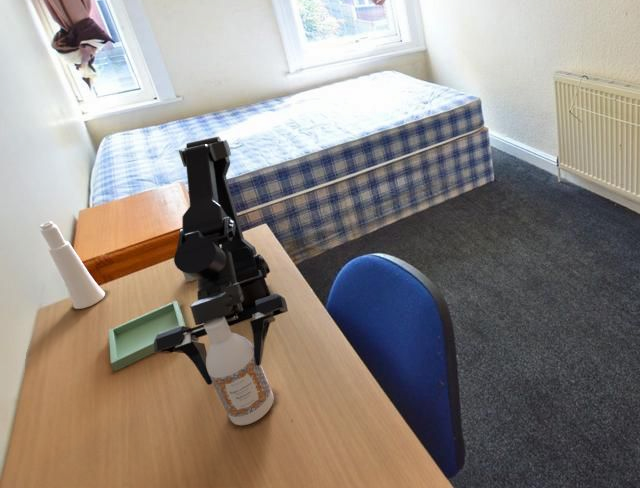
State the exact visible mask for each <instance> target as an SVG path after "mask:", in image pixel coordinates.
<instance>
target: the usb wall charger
mask: <svg viewBox="0 0 640 488" xmlns="http://www.w3.org/2000/svg"><path fill="white" fill-rule="evenodd" d="M182 274H183V276H184V279H185V281H187V282H192V281H197V279H196V278H194V277H192V276H190V275H188V274H186V273H184V272H182Z"/></svg>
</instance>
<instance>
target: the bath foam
mask: <svg viewBox="0 0 640 488" xmlns="http://www.w3.org/2000/svg"><path fill="white" fill-rule="evenodd" d="M203 324H204V328H205V330H206V332H207V334H208V335H207V336H208V339H209V341H210V344H209V347H208V349H207V351H206V352H207V356H206V368H207V371H208V374H209V376H210V378H211V380H212V385H213V386H214V389H215V391H216V393H217V395H218V397H219V400H220V401H221V403H222V405H223V407H224V409H225V411H226V413H227V415H228V417H229V419H230V421H231V423H232V424H234V425H236V426H246V425H250V424H253V423H255V422H257V421H259V420H260V419H261V418H263V417H264V416H265V415H266V414H267V413H268V412H269V411H270V409H271V408H272V406H273V403H274V400H275V399H274V398H275V397H274V393H273V390H272V388H271V385H270V382H269V380H268V378H267V376H266V373H265V371H264V368H263V365H262V364H261V365H259V366H258V365H257V363H256V359H255V352H254V345H253V344H252V342H250V340H249V339H248V338H246V337H245V336H243V335H241V334H239V333H236V332H232V330H231V327H229V326H228V323H227V321H226V319H225V317H224V316H223V317H220V318H218V317H216V318H214V319H211V320H208V321H206V322H205V323H203Z"/></svg>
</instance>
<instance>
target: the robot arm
mask: <svg viewBox="0 0 640 488" xmlns="http://www.w3.org/2000/svg"><path fill="white" fill-rule="evenodd" d="M178 154H179V157H180V159H181V163H182V165H183V168H186V178H187V179H186V180H187V187H188V188H187V190H188V200H189V207H188V208H187V209H186V211H185V212H184V213H183V215H182V217H181V219H182V220H181V221H182V222H181V225H182V227H181V229H180V230H179V234H178V241H177V247H176V251H175V254H174V257H173V263H174V265H175V268H176V269H178V270H179V271H181V273H183V272H184V273H186V274H188V275H190V276H192V277H194V278H196V284H197V285H196V286H197V295H196V296H197V301H195V302H194V303H192V304H191V305H190V310H191V314H192V318H193V322H194V324H195V326H194V327H188V326H186V325H185V326H186V327H185V326H180V327H177V328H174V329H171V330H168V331H165V332H162V333H159V334H157V336H156V338H155V340H154V348H155V352H154V354H165V355H168V354H169V355H170V354H173V353H178V354H185V355H186V356H187V357H188V358H189V359H190V361H191V362H192V363H193V364H194V365H195V367H196V369H197V370H198V372H199V374H200V375H201V377H202V378H203V380H204V381H205V383H206V385H208V386H209V385H213V382H212V380H211V378H210V376H209V374H208V371H207V368H206V356H207V352H208V351H207V348H206V344H205V343H204V342H200V341H199V340H200V338H203V337H205V336H208V334H207V332H206V330H205V328H204V323H205V322H206V321H208V320H211V319H214V318H216V317H218V318H220V317H223V316H224V317H225V319H226V321H227V323H228V326H229V328H231V327H233V326H236V325H239V324H242V323H245V322H247V321H249V323H250V327H251V331H252V341H253V347H254V352H255V359H256V363H257V365H258V366H259V365H261V366H262V360H263V354H264V348H265V343H266V337H267V334H268V331H269V328H270V325H271V323H274V322H275V321H276V317H277V316H280V315H282V314H285V313H287V312H288V311H289V309H288V305H287V301H286V298H285V297H283V296H282V295H280V294H278V293H274V294H272V293H271V291H270V290H269V287H268V284H267V281H266V279H267V278H268V274H270V273H271V269H270V266H269V264H268V262H267V260H266V259H265V258H264V257H263V256H262V254H260V253H258V252H257V250H256V247H255V246H254V245H253V244H252V243H250V242H249V241H248V240H247V239H246V238H245V237H244V234H243V230H242V227H241V224H240V221H239V217H238V213H237V210H236V206H235V203H234V199H233V197H232V196H233V195H232V193H231V189H230V185H229V182H228V179H227V174H228V171H229V169H230V166H231V159H230V156H231V155H232V152H231V148H230V144H229V142H228V140H227V139H222V138H221V137H220V136H214V137H209V138H204V139H199V140H195V141H190V142H187V143H186V147H184V148H182V149H179V150H178Z"/></svg>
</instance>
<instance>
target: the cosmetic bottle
mask: <svg viewBox="0 0 640 488" xmlns="http://www.w3.org/2000/svg"><path fill="white" fill-rule="evenodd" d="M39 227H40V233H41V234H42V237H43V239H45V240H44V241H46V243H47V245H48V246H49V247H48V252H49V254H50V256H51V259H52V260H53V262H54V264H55V266H56V268H57V270H58V272H59V274H60V277H61V278H62V281H63V282H64V285H65V287H66V290H67V292H68V294H69V296H70V299H71V302H72V306H73V308H74V309H75V310H81V309H86V308H89V307H92V306H94V305H95V304H97V303H99V302H100V301H102V300H103V299H104V297H105V295H106V293H105V291H104V290H103V289H102V288H101V287H100V286H99V285H98V282H96V281H95V279H94V278H93V277H92V275H91V274H90V272H89V271H88V269H87V267H86V266H85V265H84V263H83V261H82V260H81V258H80V257H79V255H78V253H77V252H76V251H75V249H74V248H73V246H72V245H71V242H70V241H66V239H65V237H64V236H63V234H62V233H61V230H60V229H59V226H58V225H57V224H55V223H54V222H53V221H47V222H44V223H41V224H40V225H39Z"/></svg>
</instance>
